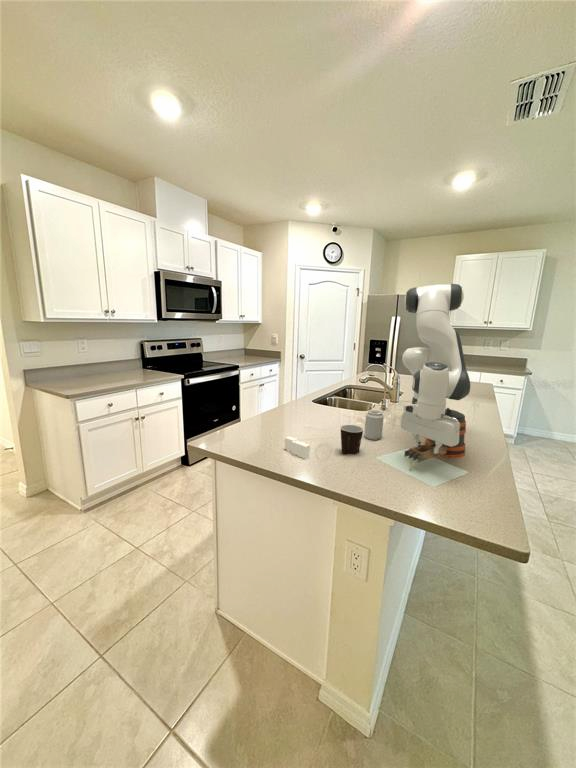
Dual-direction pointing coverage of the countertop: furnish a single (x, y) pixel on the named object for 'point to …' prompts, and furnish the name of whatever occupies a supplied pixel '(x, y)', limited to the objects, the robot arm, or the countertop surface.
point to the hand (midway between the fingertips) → (425, 449)
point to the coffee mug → (351, 439)
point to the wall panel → (423, 468)
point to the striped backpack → (460, 447)
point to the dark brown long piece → (424, 452)
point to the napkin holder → (297, 447)
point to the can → (374, 425)
